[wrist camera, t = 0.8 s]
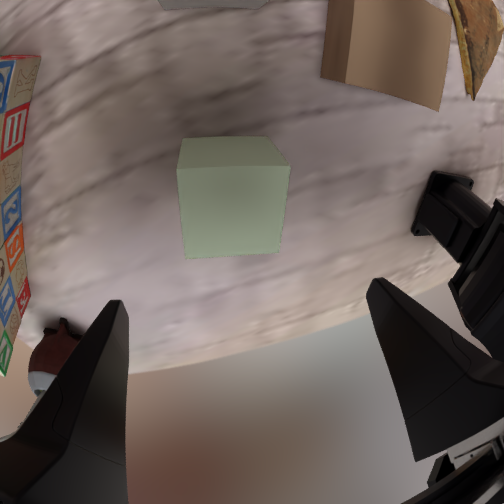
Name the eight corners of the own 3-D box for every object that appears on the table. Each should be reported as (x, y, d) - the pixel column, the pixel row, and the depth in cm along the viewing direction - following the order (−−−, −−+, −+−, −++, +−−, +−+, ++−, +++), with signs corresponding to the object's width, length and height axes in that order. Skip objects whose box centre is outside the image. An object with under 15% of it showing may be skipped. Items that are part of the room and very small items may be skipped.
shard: (461, 96, 15) (476, 102, 14) (408, 34, 12) (424, 36, 11) (495, 24, 10) (509, 27, 8) (449, -37, 6) (463, -38, 5)
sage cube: (266, 135, 16) (290, 166, 12) (261, 206, 19) (279, 252, 15) (182, 137, 15) (176, 169, 11) (187, 210, 18) (185, 259, 14)
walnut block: (417, 15, 11) (451, 17, 8) (405, 98, 15) (438, 111, 12) (328, -20, 9) (356, -32, 7) (318, 76, 14) (344, 83, 11)
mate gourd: (100, 355, 27) (92, 477, 16) (43, 343, 25) (24, 458, 13) (92, 318, 23) (75, 470, 12) (26, 304, 21) (-8, 441, 9)
